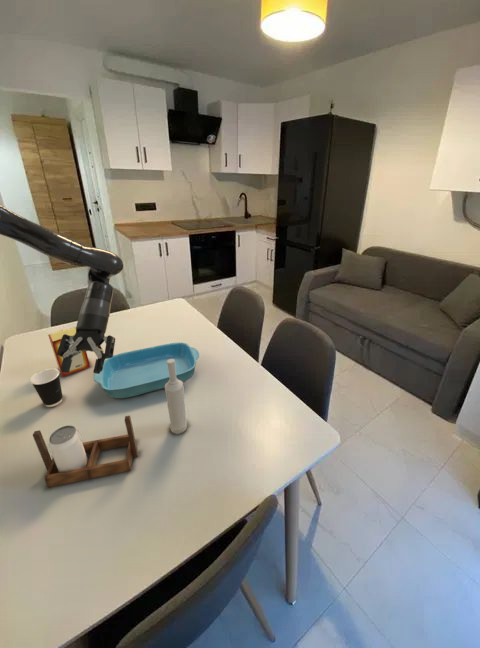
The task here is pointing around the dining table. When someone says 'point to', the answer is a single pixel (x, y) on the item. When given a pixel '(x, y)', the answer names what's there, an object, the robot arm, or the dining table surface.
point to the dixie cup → (48, 386)
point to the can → (67, 449)
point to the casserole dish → (145, 369)
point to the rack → (94, 448)
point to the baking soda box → (79, 359)
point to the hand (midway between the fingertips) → (80, 373)
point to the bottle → (175, 400)
